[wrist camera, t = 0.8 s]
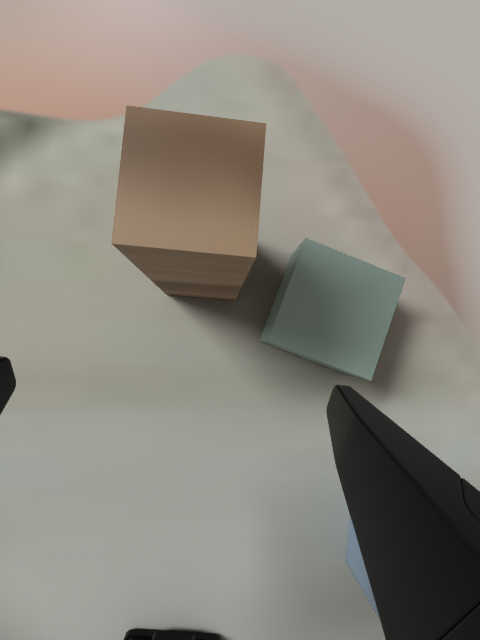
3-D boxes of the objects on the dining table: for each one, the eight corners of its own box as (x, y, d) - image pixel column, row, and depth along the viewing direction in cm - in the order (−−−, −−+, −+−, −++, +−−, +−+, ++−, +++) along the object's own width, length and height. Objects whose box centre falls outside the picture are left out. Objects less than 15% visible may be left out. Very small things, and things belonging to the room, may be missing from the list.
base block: (344, 373, 24) (371, 380, 20) (258, 340, 23) (267, 341, 19) (374, 288, 24) (405, 278, 20) (290, 255, 24) (305, 238, 20)
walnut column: (235, 300, 23) (256, 257, 11) (166, 294, 23) (111, 243, 11) (240, 234, 23) (265, 123, 11) (173, 227, 23) (126, 105, 11)
